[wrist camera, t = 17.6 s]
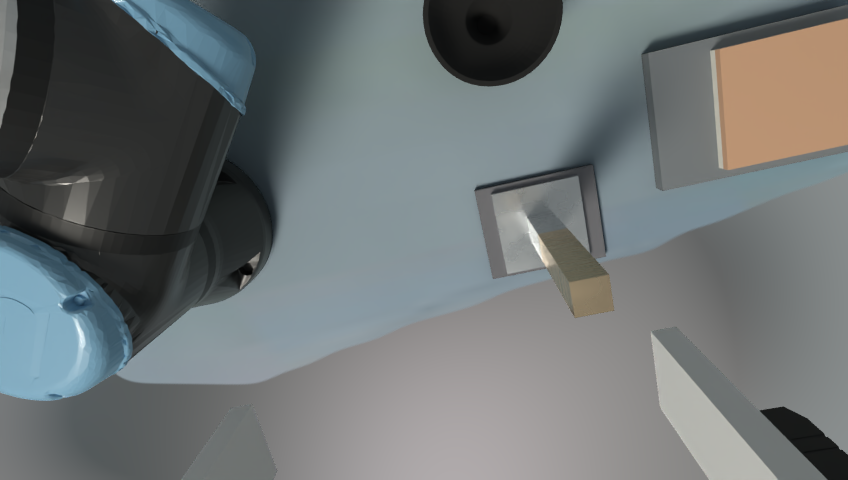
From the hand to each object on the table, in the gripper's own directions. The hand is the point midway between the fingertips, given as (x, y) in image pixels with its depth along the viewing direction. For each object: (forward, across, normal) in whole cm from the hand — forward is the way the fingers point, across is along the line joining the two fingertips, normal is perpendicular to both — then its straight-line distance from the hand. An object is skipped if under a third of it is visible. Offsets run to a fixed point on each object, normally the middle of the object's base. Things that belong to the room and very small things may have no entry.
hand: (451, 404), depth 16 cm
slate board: (+33, +27, +3) cm, 43 cm away
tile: (+30, +24, +3) cm, 39 cm away
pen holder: (+33, +6, +14) cm, 36 cm away
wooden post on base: (+32, +8, -4) cm, 33 cm away
